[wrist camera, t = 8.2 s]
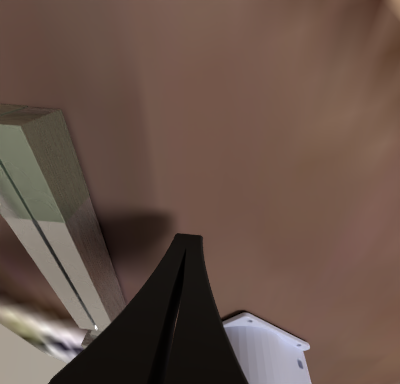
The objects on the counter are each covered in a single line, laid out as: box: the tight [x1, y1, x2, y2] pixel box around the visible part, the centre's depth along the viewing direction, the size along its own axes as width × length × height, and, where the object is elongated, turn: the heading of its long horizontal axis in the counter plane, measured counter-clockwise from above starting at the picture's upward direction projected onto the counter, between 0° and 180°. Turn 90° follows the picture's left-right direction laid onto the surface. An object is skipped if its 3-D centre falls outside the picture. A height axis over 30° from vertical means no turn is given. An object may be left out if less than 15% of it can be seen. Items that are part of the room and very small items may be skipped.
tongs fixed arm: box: [0, 104, 97, 349], centre depth 16 cm, size 24×4×3 cm, turn 178°
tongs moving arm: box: [0, 107, 126, 339], centre depth 15 cm, size 21×3×2 cm, turn 178°
